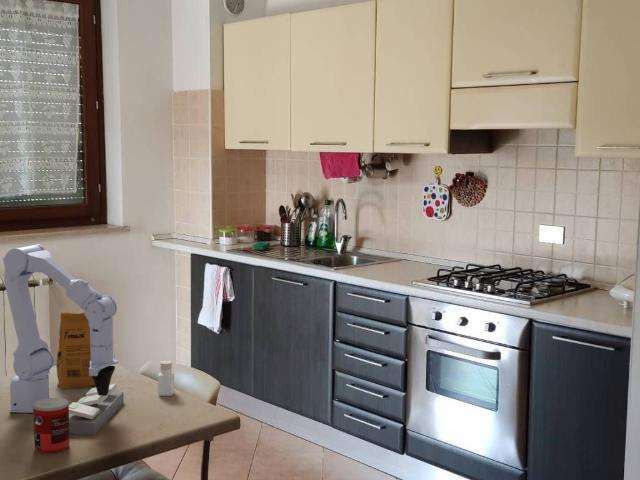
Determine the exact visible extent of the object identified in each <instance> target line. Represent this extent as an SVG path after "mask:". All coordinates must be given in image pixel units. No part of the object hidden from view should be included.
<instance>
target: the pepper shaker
mask: <svg viewBox="0 0 640 480" xmlns="http://www.w3.org/2000/svg"><path fill="white" fill-rule="evenodd" d="M159 367H160V368H159V369H160V372H159V373H158V375H157V385H158V388H157V389H158V393H157V394H158V396H159V397H172V396H173V394H174V393H175V372H173V371H172V370H173V363H172V361H171V360H162V361H160V366H159Z"/></svg>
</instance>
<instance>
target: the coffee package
mask: <svg viewBox="0 0 640 480" xmlns="http://www.w3.org/2000/svg"><path fill="white" fill-rule="evenodd" d="M90 361H91V351H90V326H89V321H88V319H87V318H86V316H85V313H84V312H82V313H75V312H63V311H61V312H60V326H59V337H58V350H57V358H56V375H57V377H56V378H57V379H58V387H59V388H60V389H61V390H66V389H71V388H77V389H78V388H79V389H85V388H90V387H94V386H95V387H96V385H95V382H94V380H93V378H92V376H89V368H90Z"/></svg>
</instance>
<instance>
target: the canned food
mask: <svg viewBox="0 0 640 480" xmlns="http://www.w3.org/2000/svg"><path fill="white" fill-rule="evenodd" d="M69 405H70V404H69V401H68V400H67V399H65V398H62V397H49V398H47V399H42V400H39V401H36V402H35V403H34V404H33V413H32V416H33V417H32V418H33V419H32V420H33V436H34V437H33V441H34V445H33V446H34V449H35V451H36V452H38V453H41V454H57V453H61V452H63V451H66V450H67V449H68V448H69V447H70V442H71V440H70V434H69Z"/></svg>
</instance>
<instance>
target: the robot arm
mask: <svg viewBox="0 0 640 480" xmlns="http://www.w3.org/2000/svg"><path fill="white" fill-rule="evenodd" d="M2 261H3V265H4V275H3V281H4V286H5V290H6V294H7V299H8V302H9V308H10V312H11V316H12V321H13V324H14V329H15V333H16V338H17V342H18V344H17V346H16V348H15V350H14V352H13V360H14V361H13V371H14V373H15V376H13V377H12V379H11V381H10V385H9V392H10V393H9V394H10V395H9V396H10V398H9V399H10V400H9V401H10V410H9V413H25V414H27V413H28V414H31V413H32V414H33V404H34V403H35V402H36V401H39V400H42V399H47V398H50V377H49V375H50V374H51V372H50V370H51V369H52V368H53V367H54V364H55V359H54V355H53V353H52V351H51V350H50V347H49V345H48V343H47V342H46V341H45V340H43V339H42V338H41V337H40V333H39V327H38V324H37V320H36V319H37V318H36V316H35V315H36V314H35V310H34V305H33V302H32V297H31V293H30V289H29V288H30V287H29V285H28V281H29V279H30V278H31V277H32V276H33V274H34V273H42V274H44V275H45V276H46V277H48V278H50V280H52V281H54V282H55V283H57V285H59V286H61V287H62V288H63V289H64V290H65V294H66V295H65V296H66V297H67V298H68V299H69V300H71V301H72V302H73V303H74V304H75V305H77V306H78V307H79V308H81V309H82V310H83V313H85V316H86V318H87V319H88V321H89V326H90V351H91V361H90V368H89V376H92V378H93V380H94V382H95V385H96V386H95V388H96V389H97V392H98V395H99V396H106V395H107V394H108V390H109V385H111V384H110V383H111V380H112V377H113V374H114V372H115V370H116V366H115V365H117V364H118V363H119V360H118V359H115V357H116V355H115V352H114V325H113V324H114V322H113V321H114V320H113V317H114V316H115V315H116V313H117V311H118V309H117V308H118V307H117V303H116V302H115V300H114V299H113V298H112V297H111V296H109V295H103V294H102V293H101V292H99V291H97V290H95V289H94V288H93V287H92V286H91V285H89V283H90V282H89V281H87V280H86V279H84V280H83V279H82V278H77V279H76V278H74V277H73V276H72V275H71V274H70V273H69V272H68V271H66V269H65V268H64V267H62V266H61V264H60V263H58V261H56V260H55V259H54V258H53V256H52V254H51V253H50V251H49V250H47V249H45V247H44V246H42V245H41V244H39V243H34V244H32V245H31V244H30V245H28V246H22V247H18V248H17V247H15V248H14V247H13V248H11V249H9V250H8V251H7V253H6V254H5V255H4V257H3V259H2Z"/></svg>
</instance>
